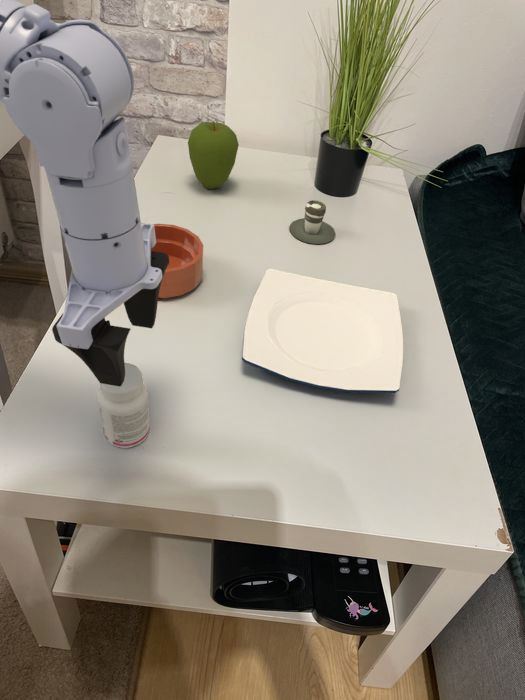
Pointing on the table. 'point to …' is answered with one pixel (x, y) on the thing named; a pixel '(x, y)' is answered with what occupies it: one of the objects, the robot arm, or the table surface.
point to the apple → (212, 153)
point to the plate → (325, 334)
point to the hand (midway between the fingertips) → (128, 351)
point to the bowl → (179, 259)
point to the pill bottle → (125, 409)
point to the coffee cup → (313, 225)
